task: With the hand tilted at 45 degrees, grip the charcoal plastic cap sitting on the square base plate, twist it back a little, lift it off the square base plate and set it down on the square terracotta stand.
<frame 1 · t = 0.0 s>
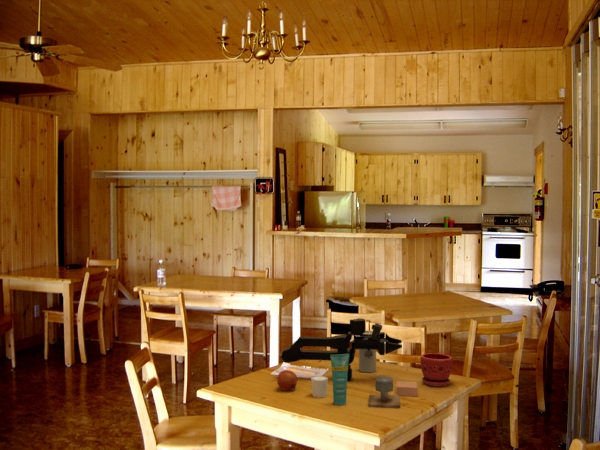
hand: (401, 343, 260), 17 cm above the table, tool horizontal, fingers open, 9 cm apart
tube: (340, 403, 233), on the table
plant pot: (436, 383, 258), on the table
travel mug: (367, 371, 279), on the table
cap: (384, 389, 233), point 5 cm above the table, touching square base plate
shot glass: (319, 395, 243), on the table
apple: (287, 390, 251), on the table
stand: (406, 393, 245), on the table
square base plate: (384, 402, 233), on the table
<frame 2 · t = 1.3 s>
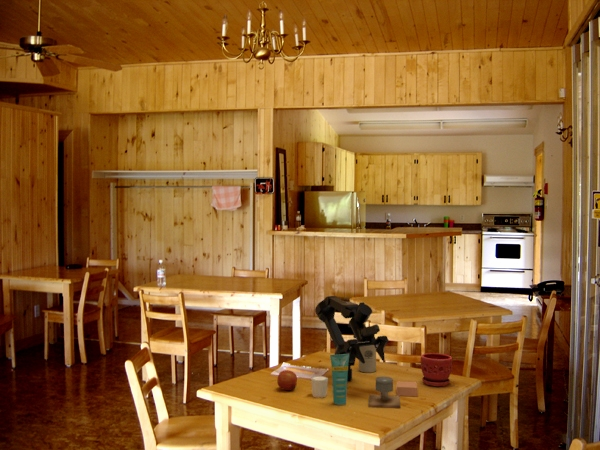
hand: (374, 361, 241), 14 cm above the table, tool tilted 45°, fingers open, 9 cm apart
nothing on the table moved.
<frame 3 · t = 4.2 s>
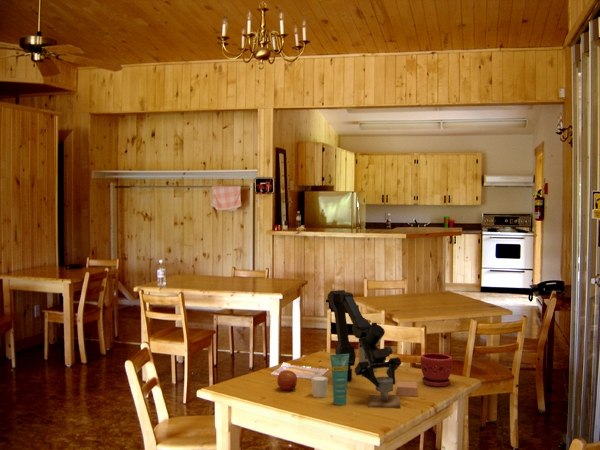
hand: (386, 385, 232), 7 cm above the table, tool tilted 45°, fingers closed on cap, 7 cm apart
cap: (384, 389, 233), point 5 cm above the table, touching gripper, square base plate
everything else where it was.
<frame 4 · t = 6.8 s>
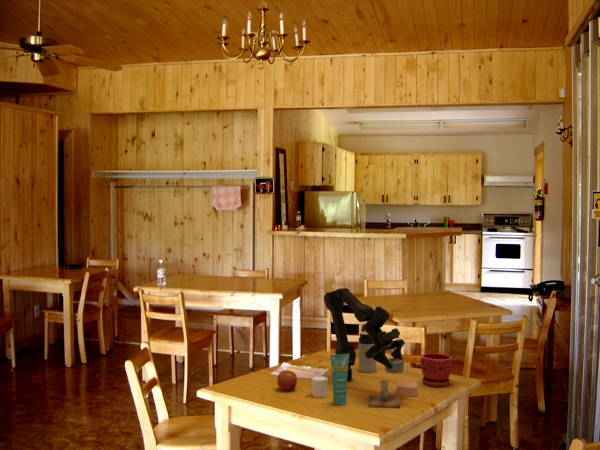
hand: (397, 366, 235), 13 cm above the table, tool tilted 45°, fingers closed on cap, 7 cm apart
cap: (394, 371, 236), point 11 cm above the table, touching gripper
everything else where it was.
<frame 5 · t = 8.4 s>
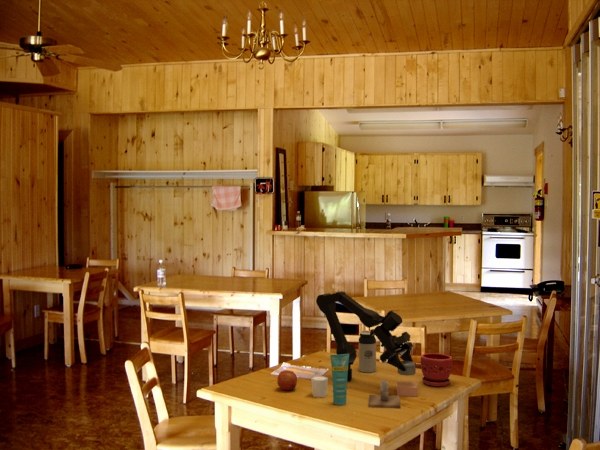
hand: (409, 368, 243), 10 cm above the table, tool tilted 45°, fingers closed on cap, 7 cm apart
cap: (406, 373, 244), point 8 cm above the table, touching gripper
everything else where it was.
when the fingers open (6 cm above the table, at t = 9.7 s): cap stays where it is, resting on stand.
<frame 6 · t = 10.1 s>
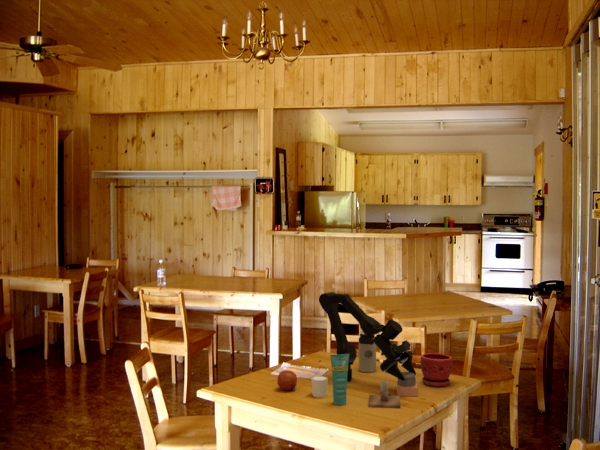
hand: (409, 377, 244), 7 cm above the table, tool tilted 45°, fingers open, 9 cm apart
cap: (406, 384, 245), point 3 cm above the table, touching stand
everything else where it was.
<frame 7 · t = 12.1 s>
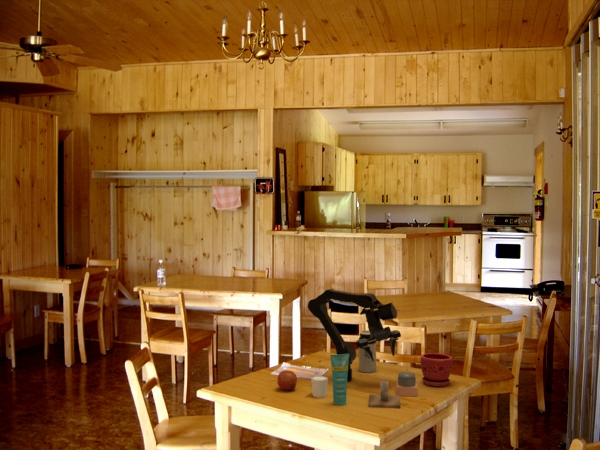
hand: (383, 358, 255), 11 cm above the table, tool tilted 15°, fingers open, 9 cm apart
nothing on the table moved.
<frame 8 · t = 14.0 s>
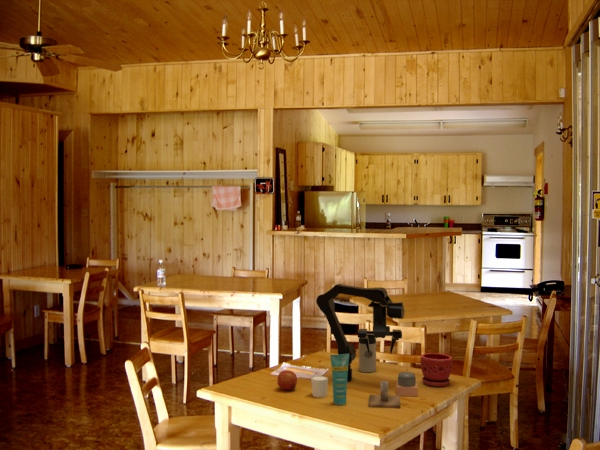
hand: (379, 353, 258), 13 cm above the table, tool pointing down, fingers open, 9 cm apart
nothing on the table moved.
at the end: cap inside the target area on the stand (0.1 cm from its centre), point 3.5 cm above the stand's base; cap tilted 0°; the gripper is holding nothing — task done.
